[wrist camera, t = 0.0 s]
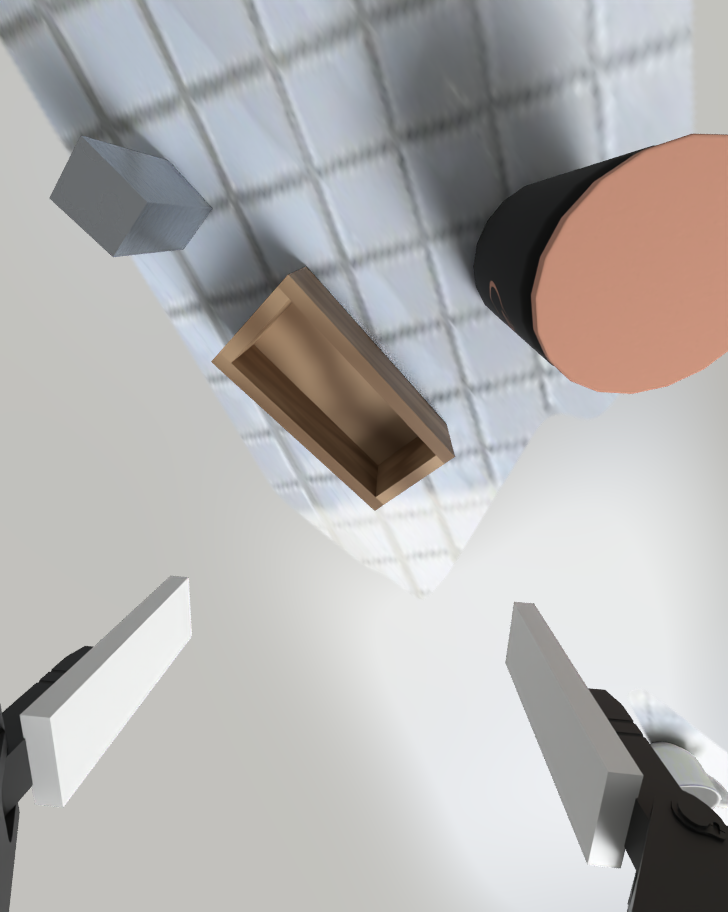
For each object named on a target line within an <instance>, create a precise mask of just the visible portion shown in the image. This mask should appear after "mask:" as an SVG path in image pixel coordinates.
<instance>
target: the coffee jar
mask: <svg viewBox="0 0 728 912" xmlns="http://www.w3.org/2000/svg"><path fill="white" fill-rule="evenodd" d="M474 274H475V281H476V288H477V290H478V292H479V294H480V296H481V298H482V300H483V302H484V304H485V305H486V306H487V307H488V308H489V309H490V310H491V311H492V312H493V313H494V314H495V315H497V316H498V317H499V318H500V319H501V320H502V321H503V322H504V323H505V324H507V325H508V326H509V327H510V328H511V329H512V330H513V331H514V332H516V333H517V334H518V335H519V336H520V337H521V338H522V339H523V340H525V341H526V342H527V343H528V344H529V345H530V346H531V347H532V348H533V349H535V350H536V351H537V352H538V353H539V354H540V355H541V356H542V357H544V358H545V359H546V360H547V361H548V362H549V363H550V364H551V365H553V366H555V367H556V368H557V369H558V370H559V371H560V372H561V373H562V374H564V375H565V376H566V377H567V378H568V379H569V380H570V381H572V382H575V383H577V384H580V385H582V386H585V387H587V388H590V389H592V390H595V391H597V392H609V393H628V394H633V393H638V392H642V391H647V390H652V389H657V388H661V387H666V386H669V385H671V384H673V383H675V382H677V381H679V380H682V379H684V378H686V377H688V376H690V375H692V374H694V373H697V372H699V371H701V370H703V369H705V368H706V367H707V366H709V365H710V364H711V363H713V362H714V361H715V360H716V359H718V358H719V357H721V356H722V355H723V354H724V353H726V352H727V351H728V135H720V134H719V135H718V134H690V135H687V136H684V137H681V138H678V139H675V140H672V141H669V142H666V143H663V144H660V145H656V146H650V147H647V148H644V149H641V150H638V151H634V152H631V153H628V154H625V155H622V156H619V157H615V158H612V159H609V160H606V161H603V162H600V163H596V164H593V165H590V166H587V167H584V168H581V169H577V170H574V171H571V172H568V173H565V174H562V175H558V176H555V177H552V178H549V179H546V180H543V181H540V182H537V183H534V184H531V185H528V186H525V187H523V188H522V189H520V190H519V191H518V192H516V193H515V194H513V195H512V196H511V197H509V198H508V199H506V200H505V201H504V202H503V203H502V204H501V205H500V206H499V208H498V209H497V210H496V211H495V213H494V214H493V215H492V216H491V218H490V219H489V220H488V221H487V223H486V226H485V228H484V230H483V232H482V234H481V237H480V239H479V241H478V243H477V248H476V254H475V261H474Z"/></svg>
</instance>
